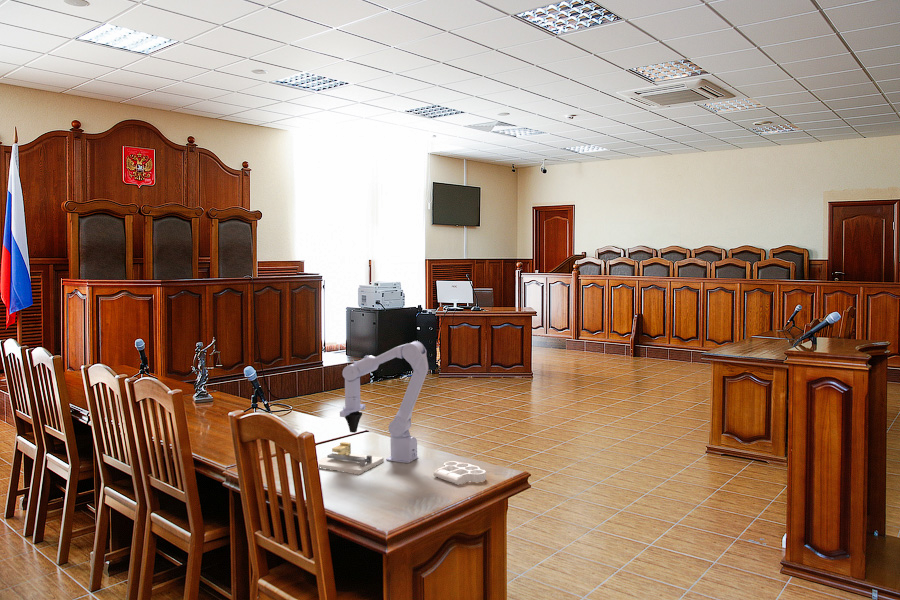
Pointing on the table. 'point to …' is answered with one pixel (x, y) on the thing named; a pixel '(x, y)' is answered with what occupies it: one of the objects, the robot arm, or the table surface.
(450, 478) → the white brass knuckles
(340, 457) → the dark grey flat bar
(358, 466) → the board
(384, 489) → the table surface
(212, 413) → the table surface
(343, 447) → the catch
